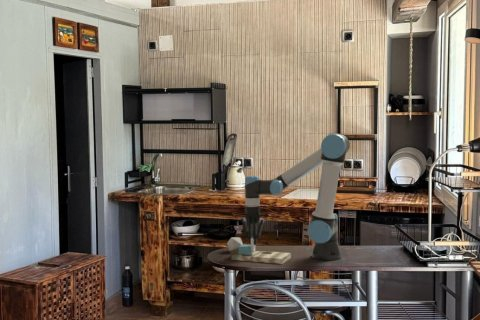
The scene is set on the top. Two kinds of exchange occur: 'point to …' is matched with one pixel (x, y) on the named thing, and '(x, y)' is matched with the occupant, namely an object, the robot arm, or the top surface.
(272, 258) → the trap board
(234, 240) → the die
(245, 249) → the block
